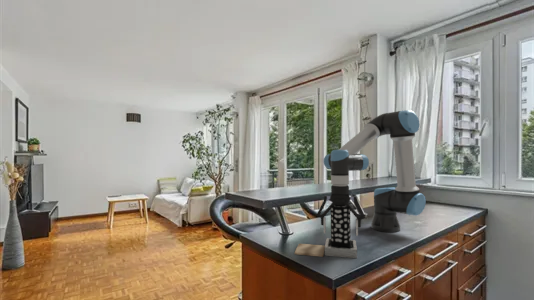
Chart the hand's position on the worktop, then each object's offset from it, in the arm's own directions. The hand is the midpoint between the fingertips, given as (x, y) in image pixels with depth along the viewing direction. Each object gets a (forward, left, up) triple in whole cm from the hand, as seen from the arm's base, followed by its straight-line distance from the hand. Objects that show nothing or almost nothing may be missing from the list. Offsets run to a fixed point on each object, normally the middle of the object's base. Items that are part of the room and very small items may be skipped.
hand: (340, 233), depth 121 cm
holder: (0, -2, -8) cm, 8 cm away
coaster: (+13, +2, -8) cm, 15 cm away
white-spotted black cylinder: (0, 0, -8) cm, 8 cm away
